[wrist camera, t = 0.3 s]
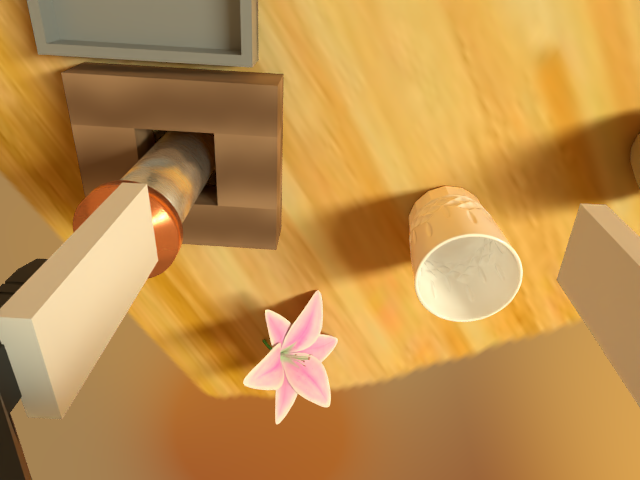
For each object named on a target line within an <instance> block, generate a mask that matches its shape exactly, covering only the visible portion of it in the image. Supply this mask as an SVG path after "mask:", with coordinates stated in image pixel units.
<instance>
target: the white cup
mask: <svg viewBox="0 0 640 480" xmlns="http://www.w3.org/2000/svg"><path fill="white" fill-rule="evenodd" d="M409 233H410V235H409V243H410V252H411V262H412V269H413V277H414V284H415V291H416V294H417V297H418V299H419V300H420V302H421V303H422V305H423V306H424V307H425V308H426V309H427V310H428V311H429V312H431V313H432V314H434V315H436V316H438V317H440V318H442V319H445V320H449V321H455V322H470V321H476V320H480V319H484V318H487V317H489V316H491V315H493V314H495V313H497V312H499V311H500V310H502V309H503V308H504V307H505V306H507V305H508V304H509V303H510V302H511V300H512V299H513V298H514V297H515V295H516V294H517V292H518V290H519V288H520V285H521V282H522V275H523V271H522V264H521V261H520V259H519V256H518V255H517V253H516V252H515V250H514V249H513V247H512V246H511V244H510V243H509V241H508V240H507V238H506V237H505V235H504V234H503V232H502V231H501V229H500V228H499V226H498V225H497V224H496V222H495V221H494V220H493V218H492V217H491V215H490V214H489V213H488V212H487V211H486V210H485V208H484V207H483V206H482V205H481V203H480V202H479V200H478V199H477V197H476V196H475V195H473V194H471V193H470V192H468V191H467V190H465V189H463V188H460V187H451V186H443V187H440V188H436V189H433V190H430V191H428V192H426V193H425V194H424V195H423V196H422V197H421V198H419V199H418V200H417V201H416V202H415V204H414V206H413V208H412V210H411V212H410V214H409Z"/></svg>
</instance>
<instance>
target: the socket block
mask: <svg viewBox="0 0 640 480" xmlns="http://www.w3.org/2000/svg"><path fill="white" fill-rule="evenodd" d="M61 75H62V80H63V85H64V90H65V95H66V101H67V106H68V111H69V116H70V121H71V126H72V131H73V137H74V142H75V147H76V152H77V157H78V162H79V167H80V173H81V178H82V183H83V188H84V193H85V197H87V196H88V195H89V194H90V193H91V192H92V191H93V190H94V189H95V188H97V187H98V186H100V185H102V184H104V183H107V182H111V181H117V180H120V179H121V178H122V177H123V176H124V175H125V174H126V173H127V172H128V171H129V170H130V169H131V168H132V167H133V166H134V165H135V164H136V163H137V162H138V161H139V160H140V159H141V158H142V157H143V156H144V155H145V154H146V153H147V152H148V151H149V150H150V149H151V148H152V147H153V146H154V145H155V144H154V135H153V130H168V131H184V132H200V133H214V143H215V162H216V180H217V186H213V185H205V186H204V188H203V189H202V191H201V193H200V194H199V196H198V198H197V199H196V201H195V203H194V205H193V206H192V208H191V210H190V211H189V213H188V215H187V216H186V218H185V220H184V221H183V223H182V226H183V242H182V244H194V245H209V246H225V247H240V248H256V249H271V250H276V249H277V244H278V240H279V236H280V231H281V207H282V138H283V74H270V73H254V72H238V71H221V70H205V69H188V68H172V67H155V66H139V65H122V64H106V63H89V62H84V63H82V64H80V65H78V66H75V67H73V68H71V69H68V70H66V71H64V72H61Z"/></svg>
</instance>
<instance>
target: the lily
mask: <svg viewBox="0 0 640 480" xmlns="http://www.w3.org/2000/svg"><path fill="white" fill-rule="evenodd" d="M265 318H266V323H267V328H268V332H269V337H270V341H271V345H272V347H271V346H270V345H269V344H268V343H267V342H266V341H265V340H263V342H264V344H265V345H266V346H267V347H268V348H269V349H270V350H271V351H270V352H269V353H268V354H267V355H266V356H265V357H264V358H263V359H262V360H261V361H260V362H259V363H258V364H257V365H256V366H255V367H254V368H253V369H252V371H251V372H250V373H249V374H248V375H247V376H246V377H245V379H244V382H243V383H244V385H245V386H247V387H250V388H254V389H262V390H276V415H275V416H276V424H279V423H280V422H281V421H282V420H283V418H284V417H285V416H286V414H287V413H288V411H289V410H290V408H291V406H292V405H293V403H294V401H295V399H296V397H297V394H299V395H301V396H302V397H304V398H305V399H307V400H309V401H311V402H313V403H315V404H317V405H320V406H322V407H329V406H330V402H331V399H330V398H331V395H330V386H329V381H328V376H327V373H326V370H325V368H324V366H323V364H322V363H321V362H322V361H323V360H324V359H326V357H327V356H328V355H329V354H330V353H331V352H332V350H333V349H334V348H335V346H336V344H337V342H338V340H337V338H335V337H333V336H329V335H324V334H320V332H321V329H322V322H323V305H322V296H321V293H320V292H319V290H317V291H316V292H315V293H314V295H313V296H312V298H311V299H310V301H309V302H308V304H307V305H306V307H305V308H304V310H303V311H302V312H301V314H300V315H299V316H298V318H297V319H296V321H295V322H294V323H293V325H292V324H291V323H290V322H289V321H288V320H287V319H285V318H284V317H282V316H281V315H279V314H277V313H275V312H274V311H271V310H265Z"/></svg>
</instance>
